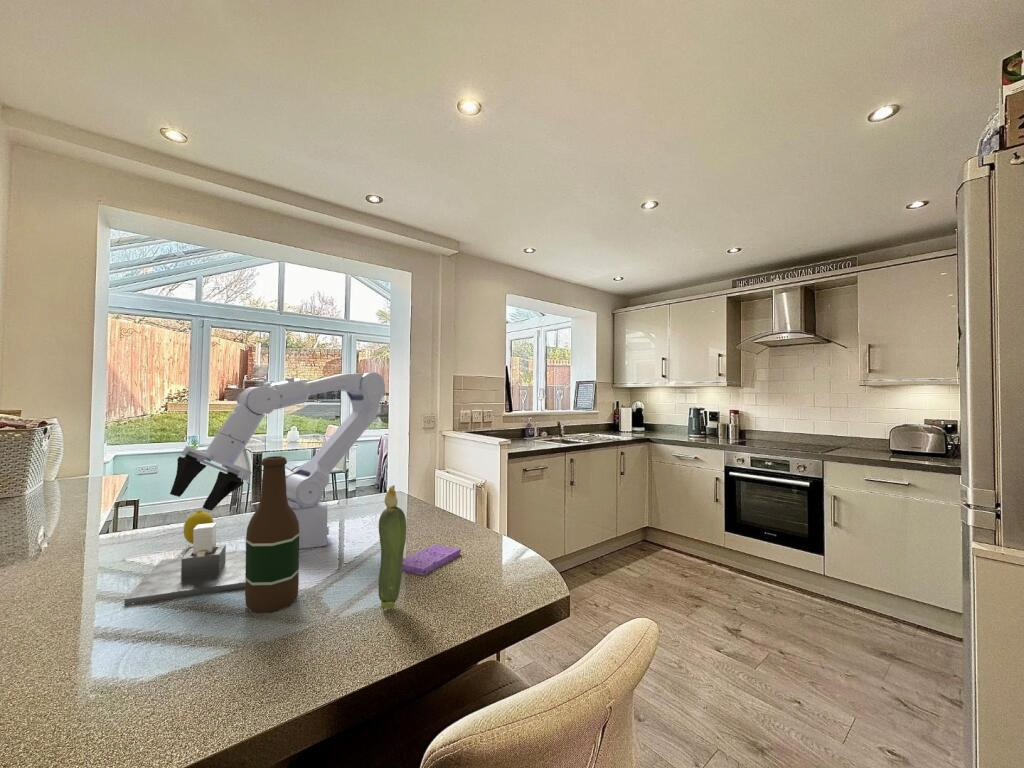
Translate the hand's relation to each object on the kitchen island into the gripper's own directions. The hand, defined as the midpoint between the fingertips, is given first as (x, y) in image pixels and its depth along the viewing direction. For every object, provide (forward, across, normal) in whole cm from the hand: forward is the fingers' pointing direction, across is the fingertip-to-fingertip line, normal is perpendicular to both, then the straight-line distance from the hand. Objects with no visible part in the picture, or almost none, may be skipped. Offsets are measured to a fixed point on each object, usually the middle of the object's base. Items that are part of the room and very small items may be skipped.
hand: (190, 502), depth 86 cm
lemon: (+9, -6, +18) cm, 21 cm away
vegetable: (+2, +46, -6) cm, 47 cm away
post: (+10, +8, +3) cm, 13 cm away
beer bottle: (+9, +27, -5) cm, 29 cm away
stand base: (+11, +8, +4) cm, 14 cm away
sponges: (-6, +46, +12) cm, 48 cm away
